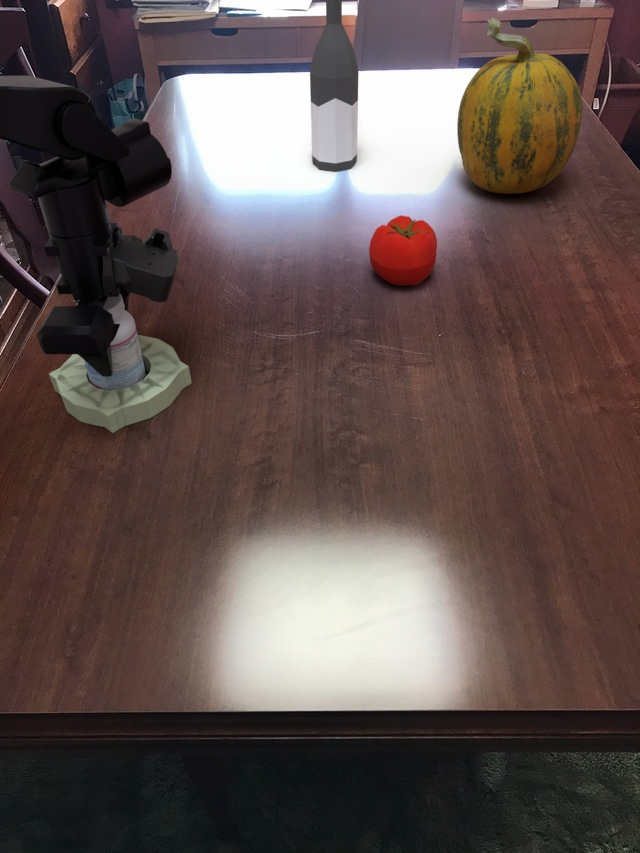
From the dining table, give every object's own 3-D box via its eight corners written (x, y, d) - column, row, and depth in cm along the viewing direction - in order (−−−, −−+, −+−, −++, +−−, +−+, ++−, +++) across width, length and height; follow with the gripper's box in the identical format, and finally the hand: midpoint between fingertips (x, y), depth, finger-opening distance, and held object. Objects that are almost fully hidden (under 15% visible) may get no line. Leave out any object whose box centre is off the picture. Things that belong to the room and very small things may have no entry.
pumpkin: (427, 184, 117) (442, 17, 100) (498, 154, 126) (523, -4, 109) (517, 221, 106) (551, 41, 89) (588, 185, 115) (630, 16, 98)
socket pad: (110, 444, 71) (104, 426, 70) (40, 391, 78) (33, 374, 76) (206, 382, 79) (203, 365, 77) (134, 339, 85) (130, 322, 84)
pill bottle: (88, 376, 79) (64, 291, 72) (141, 364, 81) (123, 279, 73) (97, 408, 75) (72, 321, 68) (152, 394, 77) (134, 308, 69)
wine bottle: (355, 153, 128) (358, -40, 107) (358, 171, 122) (362, -30, 101) (311, 155, 127) (306, -38, 107) (312, 172, 122) (307, -28, 101)
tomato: (389, 299, 91) (392, 248, 86) (358, 269, 97) (359, 219, 92) (449, 282, 94) (456, 231, 88) (415, 254, 100) (419, 204, 94)
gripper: (142, 275, 58) (172, 414, 68) (180, 183, 72) (200, 310, 82) (11, 275, 58) (61, 413, 69) (74, 183, 72) (108, 311, 82)
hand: (114, 357), depth 75 cm, fingers closed on pill bottle, 6 cm apart
